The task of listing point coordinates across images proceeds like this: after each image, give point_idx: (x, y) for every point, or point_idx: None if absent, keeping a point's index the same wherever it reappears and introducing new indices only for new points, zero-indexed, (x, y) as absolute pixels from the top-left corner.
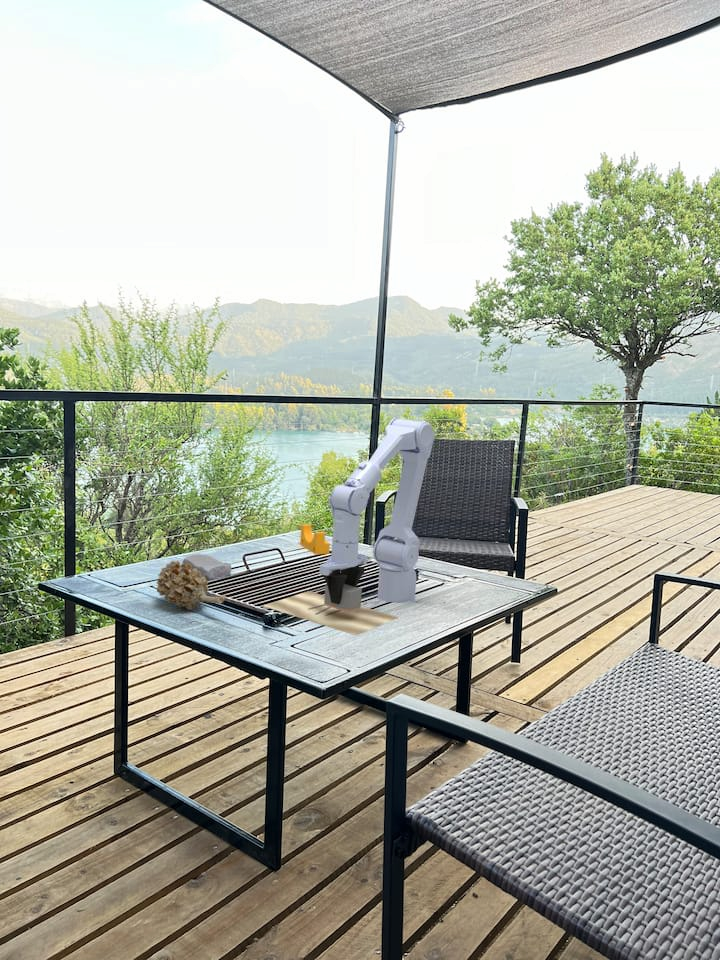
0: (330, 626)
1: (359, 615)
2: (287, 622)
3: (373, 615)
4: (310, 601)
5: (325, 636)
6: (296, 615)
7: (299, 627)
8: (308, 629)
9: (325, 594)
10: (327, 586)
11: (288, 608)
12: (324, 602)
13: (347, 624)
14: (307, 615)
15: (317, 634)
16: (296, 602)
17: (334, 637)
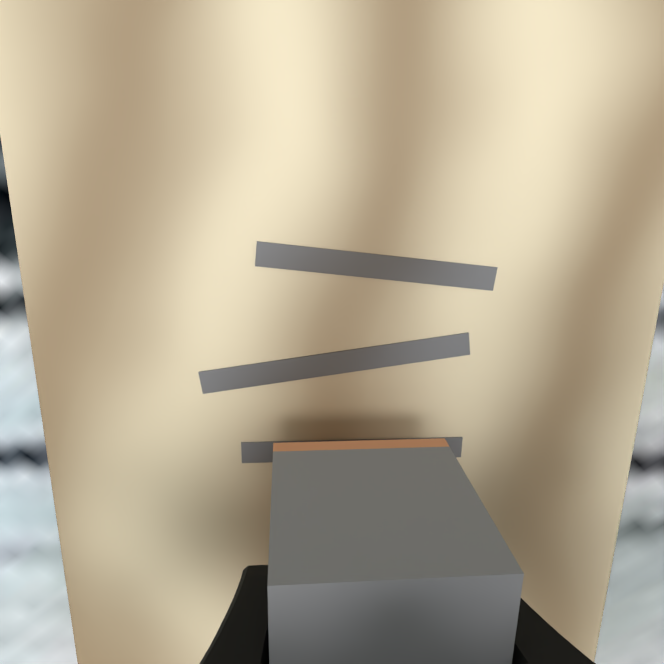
0: (83, 614)
1: None
2: (3, 228)
3: None
4: (455, 112)
5: (33, 590)
6: (41, 289)
7: (5, 370)
8: (32, 440)
9: (270, 513)
10: (270, 607)
11: (126, 93)
12: (274, 455)
13: None
14: (124, 353)
15: (14, 538)
16: (331, 23)
17: (69, 632)
